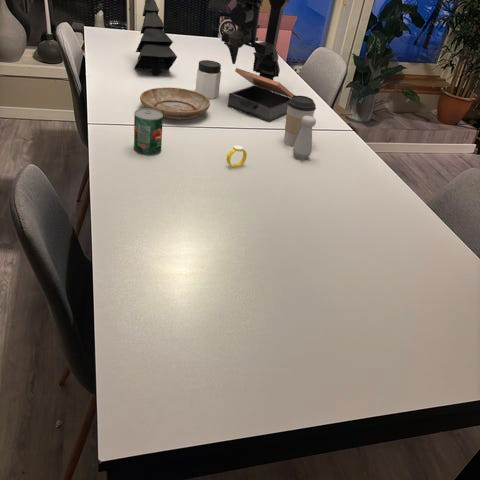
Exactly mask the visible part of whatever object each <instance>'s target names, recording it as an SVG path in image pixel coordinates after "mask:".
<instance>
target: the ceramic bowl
mask: <svg viewBox="0 0 480 480" xmlns="http://www.w3.org/2000/svg"><path fill="white" fill-rule="evenodd" d="M139 99H140V103H141V105H142V106H143V107H144V109H145V108H147V109H155V110H158V111H160V112H161V113H162V114H163V118H166V119H172V120H189V119H193V118H197V117H200V116H202V115H203V114H205V113H206V112H207V111H208V110H209V109H210V106H211V101H210V99H208V98H207V97H205V96H204V95H202V94H200V93H198V92H195V90H191V89H186V88H182V87H181V88H180V87H169V86H168V87H155V88H151V89H147V90H145V91H143V92H142V93H141V94H140V97H139Z"/></svg>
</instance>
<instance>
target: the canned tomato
mask: <svg viewBox="0 0 480 480" xmlns="http://www.w3.org/2000/svg"><path fill="white" fill-rule="evenodd" d="M133 113H134V114H133V115H134V118H133V119H134V120H133V122H134V124H133V125H134V126H133V139H134V140H133V151H134V152H135V153H136V154H137V155H140V156H145V157H155V156H158V155H160V154H161V153H162V146H163V145H162V142H163V125H164V124H163V122H164V121H163V119H164V117H163V114H162V113H161V112H160V111H158V110H155V109H147V108H145V107H144V108H139V109H136V110H135V111H134V112H133Z"/></svg>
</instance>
